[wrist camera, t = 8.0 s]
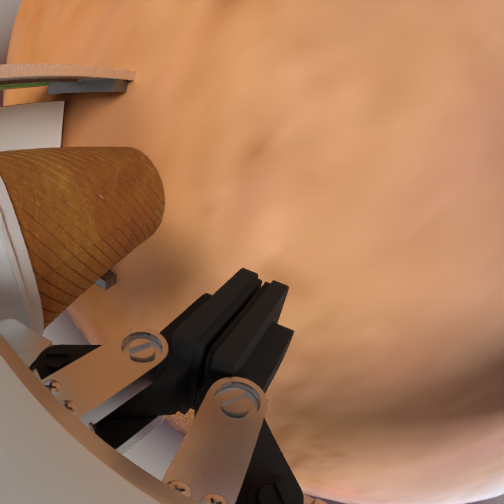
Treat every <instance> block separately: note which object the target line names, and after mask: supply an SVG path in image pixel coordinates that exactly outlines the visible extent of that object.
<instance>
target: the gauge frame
mask: <svg viewBox="0 0 504 504" xmlns="http://www.w3.org/2000/svg"><path fill="white" fill-rule="evenodd" d="M134 76H135V71H130V70H123V69H116V68H107V67H97V66H86V65H71V64H6V65H0V90H6V89H17V88H29V87H40V86H46V85H49V89H48V94H64V93H86V92H126V89H127V83H128V80H134ZM48 102H52V101H48ZM36 103H40V102H36ZM26 104H29V103H26ZM18 105H21V104H18ZM10 106H13V105H10ZM3 107H6V106H3ZM94 283H95V284H97V285H98V286H100V287H102V288H103V289H105V290H107V289H108V288H110V287H111V286H113V285H114V284H116V274H114V273H112V272H110V271H107V272H106V273H105V274H104V275H103V276H101V277H100V278H99V279H98V280H97V281H96V282H94Z"/></svg>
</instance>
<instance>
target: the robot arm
mask: <svg viewBox="0 0 504 504" xmlns="http://www.w3.org/2000/svg"><path fill="white" fill-rule="evenodd" d="M261 284H262V280H260V279H258V274H257V273H254V272H252V271H249V270H247V269H245V268H242V269H240V270H239V271H238V272H237V273H236V274H235V275H234V276H233V277H232V278H231V279H229V280H228V281H227V282H226V283H225V284H224V285H223V286H222V287H221V288H220V289H219V290H218V291H217V292H215V293H214V294H213V295H210V294H208V293H205V294H203V295H202V296H201V297H200V298H199V299H197V300H196V301H195V302H194V303H193V304H192V305H191V306H189V307H188V308H187V309H186V310H185V311H184V312H183V313H182V314H180V315H179V316H178V317H177V318H176V319H175V320H174V321H172V322H171V323H170V324H169V325H168V326H167V327H166V328H165V329H163V330H162V331H161V332H160V333H158V332H156V331H154V330H150V329H146V328H136V329H131V330H129V331H126V332H124V333H122V334H121V335H119V336H117V337H115V338H114V339H112V340H110V341H109V342H107V343H105V344H103V345H53V344H52V341H50V340H48V339H46V338H45V337H43V336H41V335H40V334H38V333H36V332H35V331H33V330H31V329H30V328H28V327H27V326H25V325H24V324H22V323H20V322H19V321H17V320H14V319H6V320H3V321H1V322H0V504H327V503H325V502H323V501H321V500H320V499H316V500H314V499H312V498H310V497H309V496H307V495H305V494H303V493H302V490H301V488H300V486H299V484H298V482H297V480H296V478H295V477H294V475H293V473H292V471H291V469H290V467H289V465H288V464H287V462H286V460H285V458H284V456H283V454H282V452H281V450H280V448H279V446H278V444H277V442H276V440H275V439H274V437H273V435H272V433H271V431H270V429H269V427H268V425H267V423H266V421H265V419H264V416H265V413H266V409H267V399H266V395H265V393H266V391H267V389H268V387H269V385H270V383H271V381H272V380H273V378H274V376H275V374H276V372H277V370H278V368H279V366H280V364H281V362H282V360H283V358H284V355H285V353H286V351H287V349H288V346H289V344H290V341H291V339H292V336H293V334H294V331H293V330H291V329H288V328H286V327H283V326H281V325H279V324H277V322H278V320H279V317H280V314H281V311H282V308H283V305H284V302H285V299H286V296H287V292H288V289H289V286H287V285H284V284H282V283H279V282H277V281H274V280H273V281H272V282H271V284H270V283H268V282H265V283H264V285H263V286H262V287H261ZM190 408H192V409H194V410H195V416H194V420H193V422H192V424H191V426H190V428H189V429H188V431H187V433H186V435H185V437H184V439H183V441H182V443H181V445H180V447H179V449H178V451H177V453H176V455H175V456H174V458H173V460H172V462H171V464H170V466H169V468H168V470H167V472H166V474H165V476H164V478H163V479H162V481H160V480H158V479H157V478H155V477H154V476H152V475H151V474H149V473H147V472H146V471H144V470H143V469H141V468H140V467H138V466H137V465H136V464H134V463H133V462H131V461H130V460H128V459H127V458H126V457H124V456H123V455H122V454H123V453H124V452H125V451H127V450H128V449H129V448H130V447H132V446H133V445H134V444H135V443H137V442H138V441H139V440H140V439H142V438H143V437H144V436H145V435H147V434H148V433H149V432H150V431H152V430H153V429H154V428H155V427H156V426H158V425H159V424H160V423H161V422H162V421H163V420H164V419H165V418H166V417H167V415H172V414H176V412H177V411H179V412H181V413H183V414H186V413H187V412H188V410H189V409H190Z"/></svg>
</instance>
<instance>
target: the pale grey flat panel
mask: <svg viewBox="0 0 504 504" xmlns="http://www.w3.org/2000/svg"><path fill="white" fill-rule="evenodd" d="M64 103H65V101H52V102H40V103H29V104H21V105H13V106H6V107H0V151H8V150H20V149H37V148H58V147H61V135H62V122H63V112H64Z"/></svg>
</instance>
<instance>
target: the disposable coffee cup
mask: <svg viewBox="0 0 504 504" xmlns="http://www.w3.org/2000/svg"><path fill="white" fill-rule="evenodd" d="M164 205H165V201H164V190H163V185H162V181H161V179H160V176H159V174H158V171H157V170H156V168H155V166H154V165H153V163H152V162H151V161H150V159H149V158H148V157H147V156H146V155H144V154H143V153H142V152H140V151H139V150H136V149H134V148H130V147H58V148H37V149H20V150H8V151H0V322H1V321H3V320H6V319H14V320H17V321H19V322H20V323H22V324H24V325H25V326H27V327H28V328H30V329H31V330H33V331H35V332H36V333H38V334H40V335H41V336H42V334H43V331H44V329H45V328H46V327H47V326H48V325H49V324H50V323H51V322H52V321H53V320H54V319H55V318H56V317H57V316H59V315H60V313H61V312H62V311H64V310H65V309H66V308H67V307H68V306H69V305H70V304H71V303H72V302H74V301H75V300H76V299H77V298H78V297H79V296H80V295H81V294H82V293H83V292H85V291H86V290H87V289H88V288H89V287H90V286H91V285H92V284H93V283H94V282H96V281H97V280H98V279H99V278H100V277H101V276H103V275H104V274H105V273H106V272H107V271H108V270H110V269H111V268H112V267H113V266H114V265H115V264H116V263H118V262H119V261H120V260H121V259H122V258H124V257H125V256H126V255H127V254H128V253H130V252H131V251H132V250H133V249H134V248H136V247H137V246H138V245H139V244H140V243H142V242H143V241H145V240H146V239H147V238H149V237H150V236H151V235H152V234H153V233H154V232H155V231H156V230H157V228H158V227H159V225H160V223H161V221H162V217H163V213H164Z"/></svg>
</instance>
